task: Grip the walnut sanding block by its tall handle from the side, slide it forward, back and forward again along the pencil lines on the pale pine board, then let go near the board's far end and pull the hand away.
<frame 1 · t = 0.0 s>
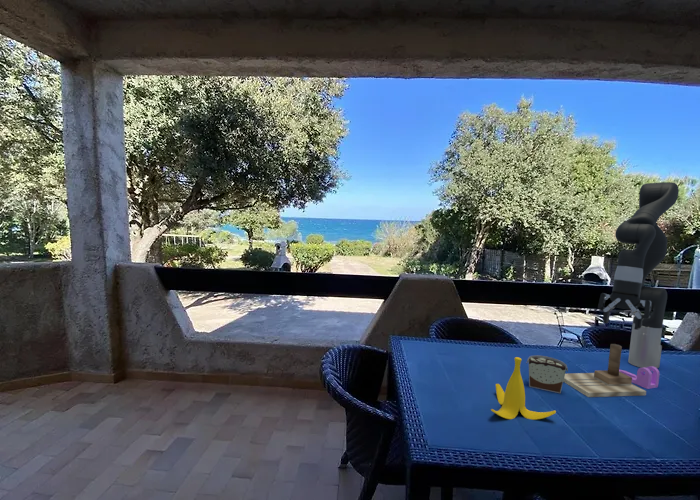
hand: (620, 326, 117), 22 cm above the table, tool pointing down, fingers open, 8 cm apart
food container: (543, 386, 117), on the table
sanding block: (612, 381, 120), point 2 cm above the table, touching pine board
bracket: (632, 380, 126), on the table
pine board: (599, 386, 119), on the table
banana peel: (508, 414, 99), on the table
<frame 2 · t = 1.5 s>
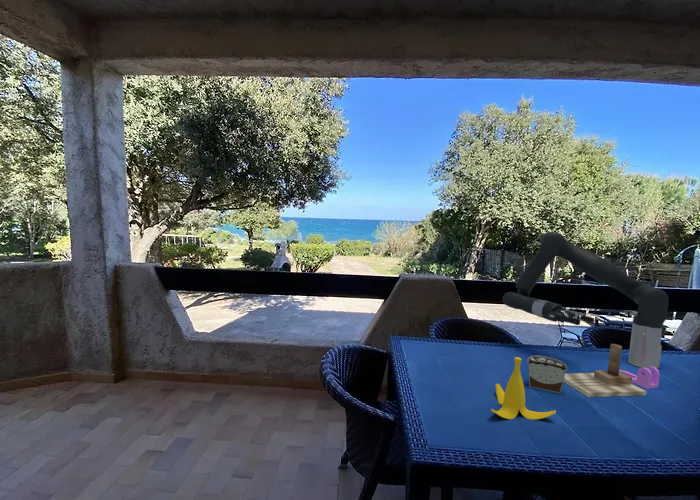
hand: (586, 321, 128), 20 cm above the table, tool horizontal, fingers open, 8 cm apart
nothing on the table moved.
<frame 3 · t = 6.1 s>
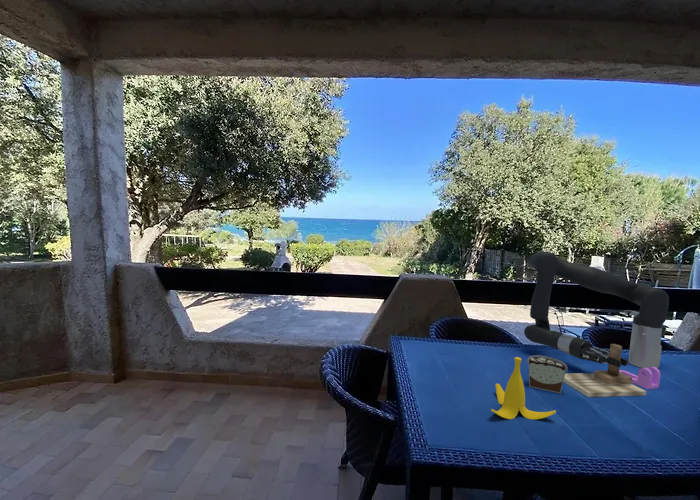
hand: (623, 363, 117), 9 cm above the table, tool horizontal, fingers closed on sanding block, 3 cm apart
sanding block: (612, 381, 120), point 2 cm above the table, touching gripper, pine board
everything else where it was.
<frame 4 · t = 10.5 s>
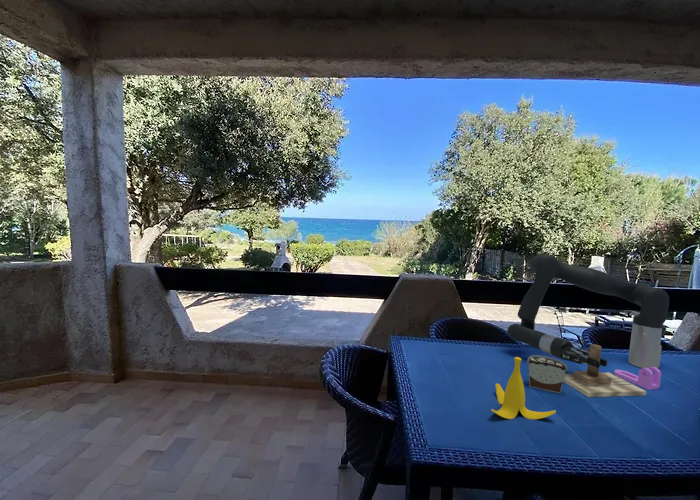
hand: (602, 364, 115), 9 cm above the table, tool horizontal, fingers closed on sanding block, 3 cm apart
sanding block: (591, 382, 119), point 2 cm above the table, touching gripper, pine board
everything else where it was.
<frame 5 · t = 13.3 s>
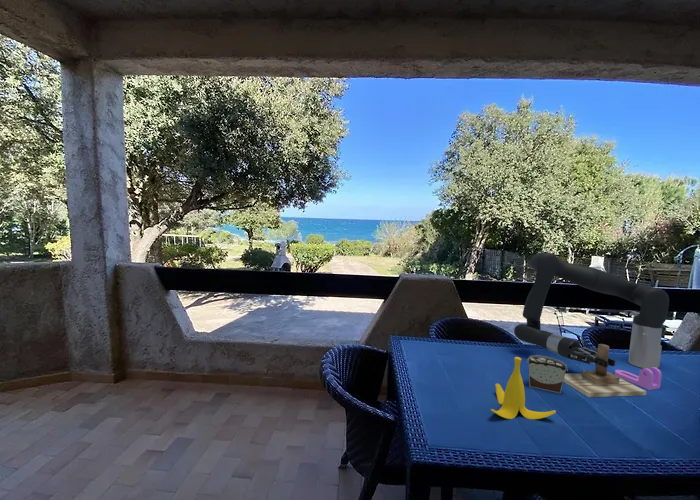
hand: (610, 364, 116), 9 cm above the table, tool horizontal, fingers closed on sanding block, 3 cm apart
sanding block: (599, 381, 119), point 2 cm above the table, touching gripper
everything else where it was.
when the fingers open (9 cm above the table, at t = 15.2 s): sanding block stays where it is, resting on pine board.
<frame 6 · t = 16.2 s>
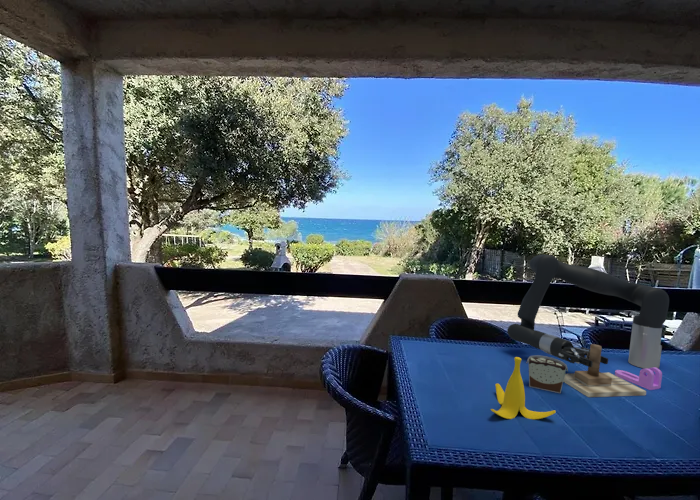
hand: (599, 362, 116), 9 cm above the table, tool horizontal, fingers open, 8 cm apart
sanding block: (592, 382, 119), point 2 cm above the table, touching pine board
everything else where it was.
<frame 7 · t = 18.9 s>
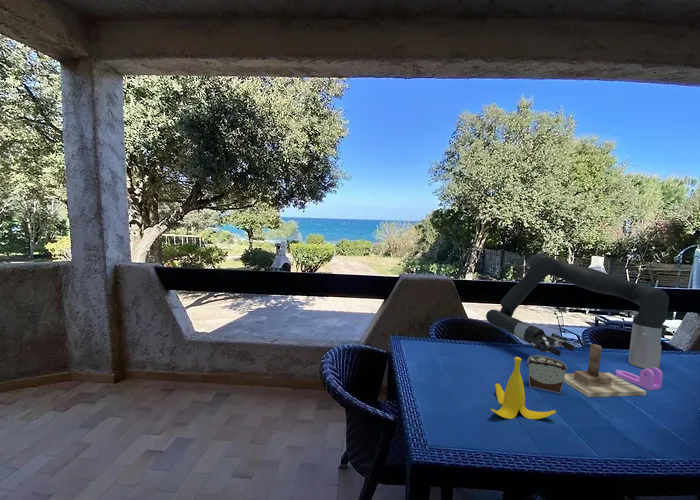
hand: (567, 351, 128), 9 cm above the table, tool horizontal, fingers open, 8 cm apart
nothing on the table moved.
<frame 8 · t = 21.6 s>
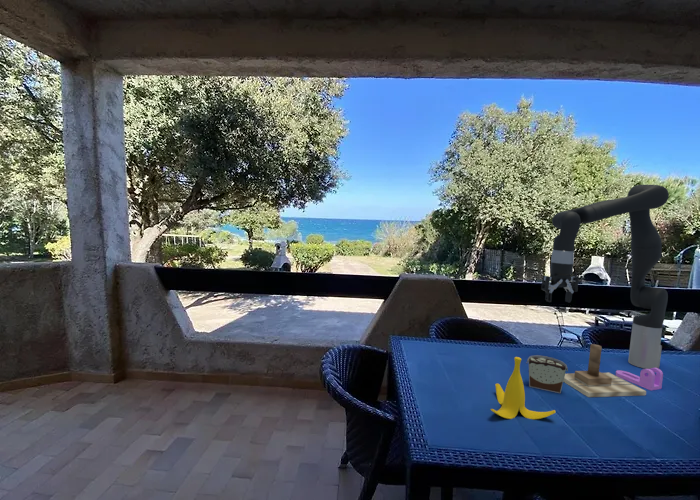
hand: (558, 301, 134), 26 cm above the table, tool pointing down, fingers open, 8 cm apart
at the end: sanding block inside the target area on the pine board (1.0 cm from its centre), point 1.5 cm above the pine board's base; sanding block tilted 0°; the gripper is holding nothing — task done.
